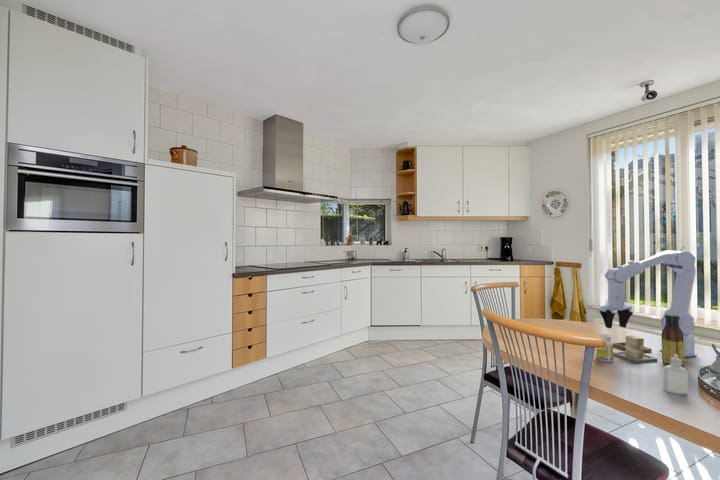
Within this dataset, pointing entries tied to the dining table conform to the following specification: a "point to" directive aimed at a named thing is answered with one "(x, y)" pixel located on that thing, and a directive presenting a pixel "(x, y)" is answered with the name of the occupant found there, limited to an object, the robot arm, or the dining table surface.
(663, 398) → the dining table surface
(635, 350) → the peg
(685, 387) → the eye dropper bottle
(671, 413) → the dining table surface
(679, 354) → the sauce bottle
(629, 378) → the dining table surface
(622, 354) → the tray
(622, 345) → the holder
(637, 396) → the dining table surface
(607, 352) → the supplement bottle
